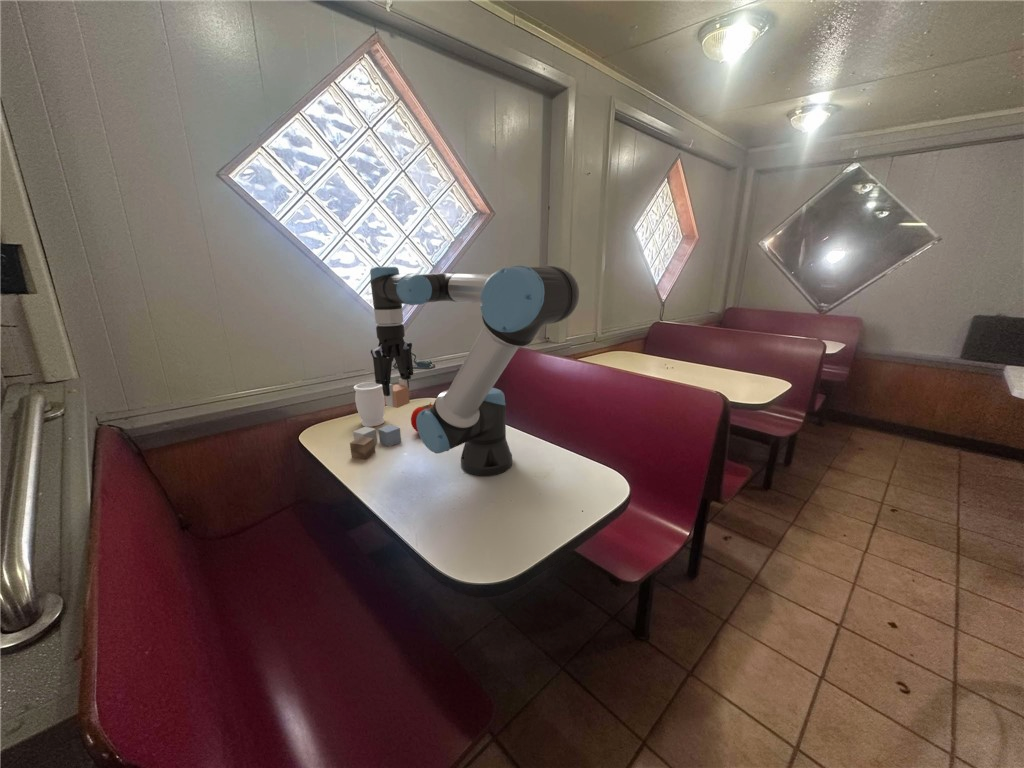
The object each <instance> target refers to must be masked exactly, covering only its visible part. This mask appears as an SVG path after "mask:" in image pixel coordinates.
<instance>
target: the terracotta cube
mask: <svg viewBox="0 0 1024 768" xmlns="http://www.w3.org/2000/svg"><path fill="white" fill-rule="evenodd" d="M409 390H410V387H409V388H408V387H406V386H401V385H399V384H393V395H394V404H395V406H394V407H393V408H396V409H398V408H401V407H403V406H405V405H408V404H411V402H410V391H409ZM384 400H385V406H387V405H386V399H385V396H384Z"/></svg>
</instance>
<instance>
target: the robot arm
mask: <svg viewBox="0 0 1024 768" xmlns="http://www.w3.org/2000/svg"><path fill="white" fill-rule="evenodd" d="M369 274H370V275H369V276H370V281H369V283H370V287H371V294H372V295H371V297H372V304H373V309H374V310H373V312H374V320H375V321H374V322H375V324H377V325H376V326H375V330H376V332H375V333H376V338H377V339H378V341H379V342H378V344H377V345H378V347H376V348H375V349H371V350H370V355H371V357H372V361H373V370H374V371H373V372H374V382H376V383H377V384H381V385H382V387H383V388H382V389H383V394H384V396H385V399H386V405H385V406H387V407H392V408H395V407H394V406H395V404H394V395H393V385H394V384H392V383H391V378H392V377H391V376H392V367H393V361H394V360H395V363H396V367H397V370H398V373H399V375H400V378H398V385H401V386H406V387H408V388H409V389H410V384H409V380H411V379H412V376H413V375H414V367H413V354H412V347H413V343H412V342H408V341H407V342H405V340H404V337H405V325H404V314H403V313H404V311H403V305H409V306H415V305H417V306H418V305H420V306H421V305H424V304H426V303H427V304H428V303H434V302H435V303H436V302H455V303H456V302H459V303H470V304H480V311H481V322H482V325H483V326H482V329H481V330H480V332H479V334H478V336H477V337H476V339H475V341H474V343H473V344H472V346H471V349H470V350H469V352H468V354H467V355H466V358H465V360H464V361H463V363H462V365H461V367H460V369H459V370H458V372H457V373H456V374H455V375H456V376H455V377H454V379H453V381H452V383H451V385H450V386H449V388H448V389H447V390H444V391H442V392H440V393H439V394H438V395H437V397H436V399H435V401H434V402H433V404H432V405H433V406H432V407H431V408H429V409H424V410H423V411H421V412H419V414H418V415H417V419H416V425H417V430H418V432H417V433H418V435H419V438H420V440H421V441H422V443H423V444H424V446H425V447H426V449H428V450H429V451H430V452H433V453H435V454H442V453H445V452H449V451H450V450H452V449H453V448H454V449H455V447H459V446H460V445H463V444H464V446H463V449H462V452H461V455H460V465H461V466H460V467H461V469H462V470H463V471H464V472H466V473H468V474H470V475H473V476H474V475H475V476H481V477H486V476H488V477H489V476H495V475H500V474H502V473H504V472H506V471H508V470H510V468H512V465H513V454H512V452H511V449H510V446H509V443H508V441H507V434H506V433H507V432H506V431H507V430H506V424H507V423H506V421H507V420H506V416H507V415H506V405H507V403H506V399H505V393H504V392H503V390H501V389H498V388H496V387H494V386H495V384H496V383H497V382H498V379H500V377H501V375H502V374H503V372H504V370H505V369H507V366H508V364H509V363H510V362H511V360H512V358H513V357H514V356H515V354H516V352H517V351H518V350H519V349H520V348H525V347H528V346H529V345H530V344H531V343H532V342H533V340H534V338H535V337H536V335H537V334H538V333H539V331H540V330H541V328H543V326H547V325H551V324H556V323H559V322H562V321H563V320H567V318H568V317H570V316H571V315H572V314H573V312H574V311H575V310H576V308H577V307H578V305H579V304H578V303H579V300H580V289H579V285H578V282H577V280H576V278H575V276H573V274H572V273H570V271H568V270H567V269H565V268H562V267H560V266H559V267H558V266H555V265H554V266H549V265H548V266H526V265H525V266H524V265H513V266H510V267H504V268H501V269H498V270H496V271H495V272H494V273H491V274H490V273H460V272H446V273H445V272H442V273H401V274H400V271H399V268H398V267H397V266H373V267H371V268H370V272H369Z"/></svg>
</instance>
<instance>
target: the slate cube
mask: <svg viewBox="0 0 1024 768" xmlns="http://www.w3.org/2000/svg"><path fill="white" fill-rule="evenodd" d="M377 431H378V438H379V443H380V444H381V445H384V446H386V447H391V446H394V445H396V444H399V443H401V442H402V435H401V428H400V427H398V426H397V425H393V424H389V425H386V426H383V427H380V428H377Z"/></svg>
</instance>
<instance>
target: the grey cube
mask: <svg viewBox="0 0 1024 768" xmlns="http://www.w3.org/2000/svg"><path fill="white" fill-rule="evenodd" d="M352 433H353V439H354V440H355V439H357V438H359V437H368V438H374V445H375V444H378V437H377V429H376V428H373V427H366V426H363V427H360V428H358V429H356V430H353V432H352ZM354 440H353V441H354Z"/></svg>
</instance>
